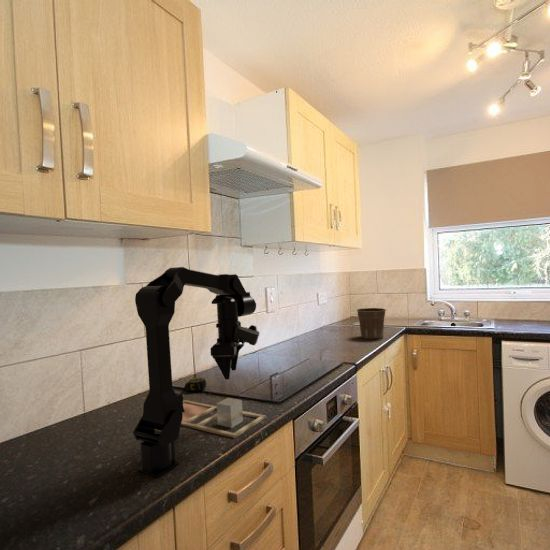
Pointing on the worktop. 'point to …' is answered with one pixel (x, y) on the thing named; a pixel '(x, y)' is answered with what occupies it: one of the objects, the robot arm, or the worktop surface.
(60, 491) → the worktop surface
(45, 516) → the worktop surface
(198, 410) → the rectangular frame with crossbars
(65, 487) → the worktop surface
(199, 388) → the tape measure
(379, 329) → the plant pot
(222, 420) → the metal block
